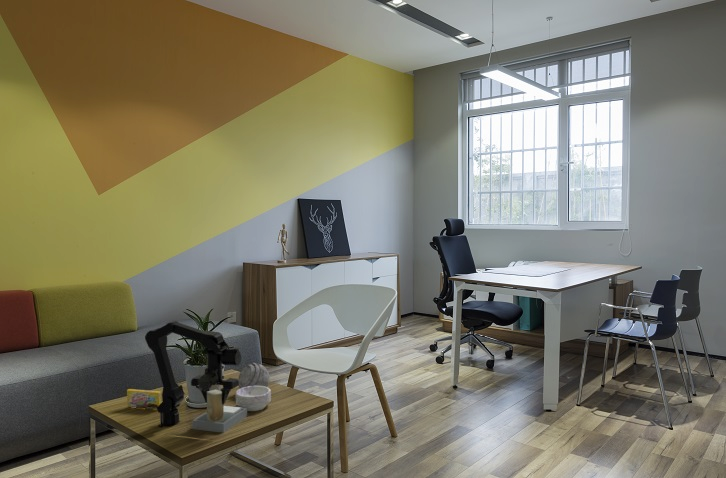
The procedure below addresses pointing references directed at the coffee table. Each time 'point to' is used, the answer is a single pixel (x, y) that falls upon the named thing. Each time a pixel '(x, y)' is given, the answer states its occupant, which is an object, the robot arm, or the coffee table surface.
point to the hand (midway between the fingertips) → (215, 403)
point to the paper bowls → (253, 397)
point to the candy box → (143, 399)
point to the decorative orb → (253, 376)
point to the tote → (205, 425)
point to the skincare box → (215, 406)
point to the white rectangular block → (230, 412)
